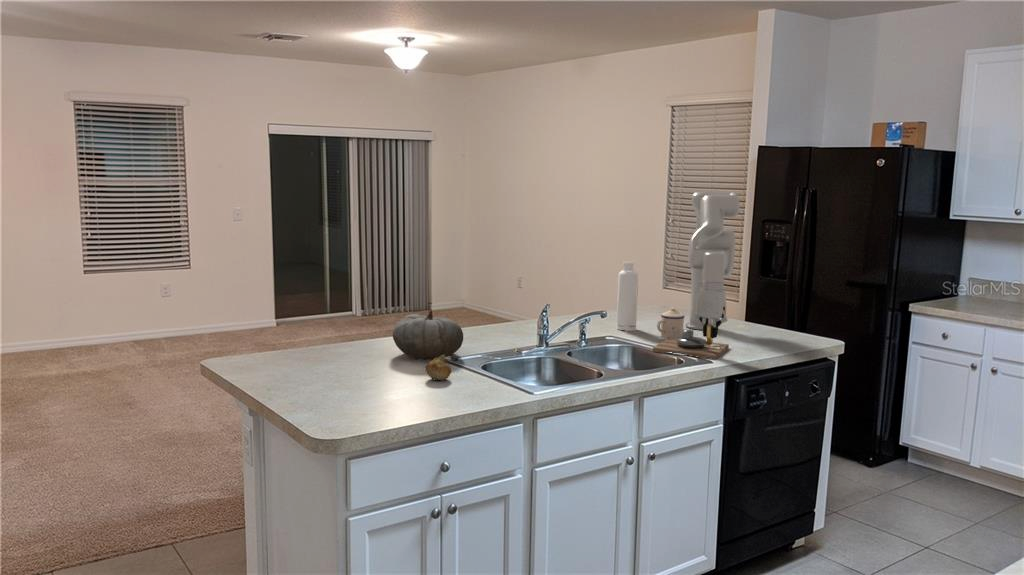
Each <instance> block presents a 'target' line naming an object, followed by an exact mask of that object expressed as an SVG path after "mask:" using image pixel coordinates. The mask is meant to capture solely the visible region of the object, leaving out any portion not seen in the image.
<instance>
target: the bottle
mask: <svg viewBox="0 0 1024 575" xmlns="http://www.w3.org/2000/svg"><path fill="white" fill-rule="evenodd" d="M622 264H623V268H622V270H621V271H619V272H618V275H617V302H616V306H617V307H616V328H617V329H619V330H618V331H621V330H625V331H624V332H633V331H632V330H634V331H637V317H638V315H637V313H638V311H637V310H638V290H639V289H638V288H639V287H638V286H639V274H638V272H637V271H636V270H635V268H634V265H635V261H629V260H628V261H627V260H626V261H623V262H622ZM617 329H616V330H617Z"/></svg>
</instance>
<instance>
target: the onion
mask: <svg viewBox="0 0 1024 575" xmlns="http://www.w3.org/2000/svg"><path fill="white" fill-rule="evenodd" d="M445 356H446V355H441V356H440V357H438V358H435V359H431V360H430V362H428V363H427V364H426V365H425V373H426V374H427V375H428V377H429V378H431V380H433V379H435V380H434V381H436V380H441V381H445V380H447V379H448V378H449V377H450V375H451V373H452V369H451V366H450V364H449V363H448V362H449V361H450V362H451V360H452V358H451V356H449V357H445ZM444 379H445V380H444Z"/></svg>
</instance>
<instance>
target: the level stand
mask: <svg viewBox="0 0 1024 575" xmlns="http://www.w3.org/2000/svg"><path fill="white" fill-rule="evenodd" d="M729 347H730V346H729V344H728V343H720V342H713V344H712V345H707V344H704V347H699V348H689V347H682V346H679V345H677V338H670V337H669V338H665V339H664V340H662V341H661V342H659V343H658V344H656V345H655V346H653V347H652V352H653V353H654V352H655V353H660V354H661V353H662V354H665V353H664V352H672V353H681V354H687V355H692V356H698V357H697V358H700V357H706V358H705V359H708V358H712V359H711V360H717V359H718V358H720V357H721V355H723V354H724V353H725V352H726V351H727V350H728V349H729ZM722 353H723V354H722ZM692 356H691V357H692ZM716 358H717V359H716Z"/></svg>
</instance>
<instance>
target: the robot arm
mask: <svg viewBox="0 0 1024 575" xmlns="http://www.w3.org/2000/svg"><path fill="white" fill-rule="evenodd" d="M691 205H692V208H693V210H694V213H695V217H696V219H695V220H696V222H695V223H696V225H695V232H694V233H693V234H692V235H691V238H689V239H690V240H689V242H688V249H687V251H688V253H687V254H688V256H687V258H688V260H687V261H688V265H689V267H690V274H691V275H690V276H691V280H690V282H691V284H690V285H691V286H690V288H691V289H690V303H689V304H690V306H689V307H690V308H689V321H687V322H686V323H685V327H686V328H688V329H690V330H697V331H698V330H700V331H702V334H703V335H702V337H704V338H706V329H707V324H712V325H713V327H711V338H713V339H715V338H717V337H718V335H719V327H720V326H721V325H722V324H723V323H727V322H728V317H727V297H726V291H725V290H724V289H725V288H724V284H725V277H729V276H731V275H732V274H733V271H734V263H735V251H736V234H735V231H734V230H733V229H731V228H726V227H725V226H724V225H725V224H724V218H725V217H727V218H731V217H732V218H735V217H737V216H739V213H740V207H741V206H740V199H739V197H738V195H737V193H736V192H734V191H733V192H732V191H714V190H713V191H709V190H707V191H706V190H704V191H696V192H694V193H693V194H692V196H691Z"/></svg>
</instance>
